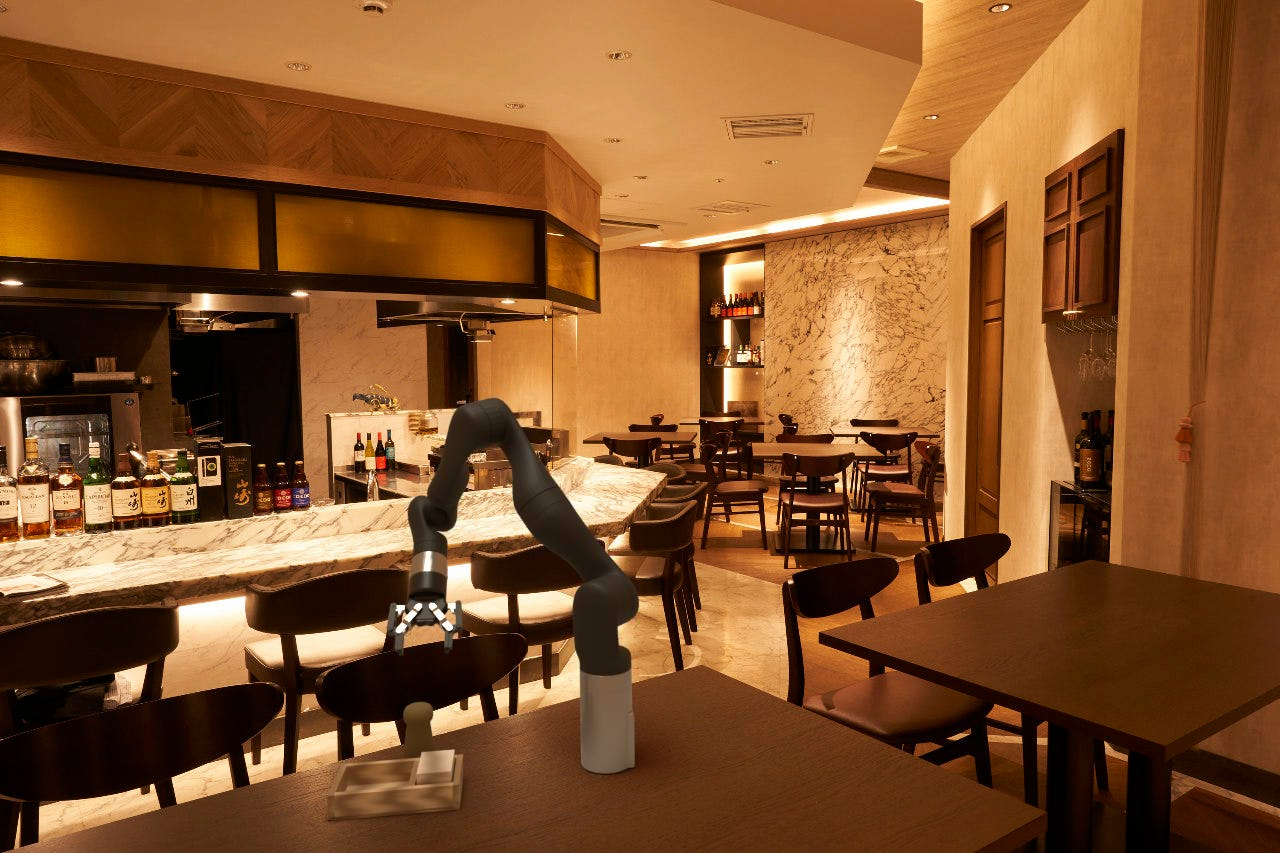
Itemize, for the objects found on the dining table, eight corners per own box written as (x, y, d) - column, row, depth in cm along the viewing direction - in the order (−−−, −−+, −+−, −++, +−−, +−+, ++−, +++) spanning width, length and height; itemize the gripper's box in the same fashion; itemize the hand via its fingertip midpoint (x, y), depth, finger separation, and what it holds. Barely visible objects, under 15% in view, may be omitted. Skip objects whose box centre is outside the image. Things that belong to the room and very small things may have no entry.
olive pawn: (427, 774, 142) (426, 712, 142) (395, 771, 144) (394, 710, 143) (442, 759, 148) (441, 699, 148) (411, 756, 150) (410, 697, 149)
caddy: (463, 777, 141) (462, 745, 141) (459, 809, 130) (458, 774, 130) (342, 787, 138) (341, 754, 138) (328, 821, 127) (327, 785, 127)
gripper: (390, 570, 164) (382, 645, 153) (463, 568, 166) (460, 641, 155) (394, 590, 169) (387, 663, 158) (464, 587, 171) (462, 659, 161)
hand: (423, 652), depth 157 cm, fingers open, 8 cm apart
